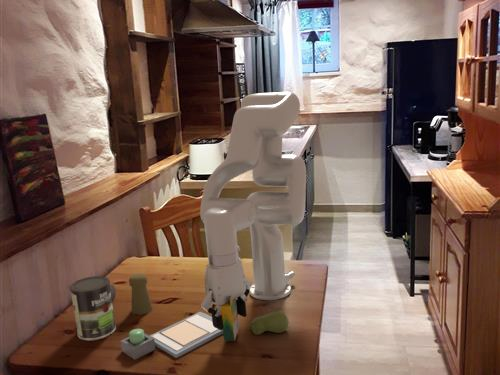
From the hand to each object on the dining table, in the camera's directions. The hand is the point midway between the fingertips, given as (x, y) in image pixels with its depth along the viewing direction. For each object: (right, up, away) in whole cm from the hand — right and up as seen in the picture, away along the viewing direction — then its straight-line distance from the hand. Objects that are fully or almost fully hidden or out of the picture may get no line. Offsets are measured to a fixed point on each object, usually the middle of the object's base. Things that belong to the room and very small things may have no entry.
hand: (230, 321), depth 129 cm
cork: (-27, -2, +21) cm, 34 cm away
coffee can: (-37, -6, +10) cm, 39 cm away
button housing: (-23, -7, -1) cm, 24 cm away
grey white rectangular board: (-11, -5, +4) cm, 13 cm away
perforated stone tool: (-39, -3, +23) cm, 45 cm away
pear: (+10, -4, +3) cm, 11 cm away
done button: (-23, -6, -2) cm, 24 cm away
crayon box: (0, -4, +1) cm, 4 cm away
